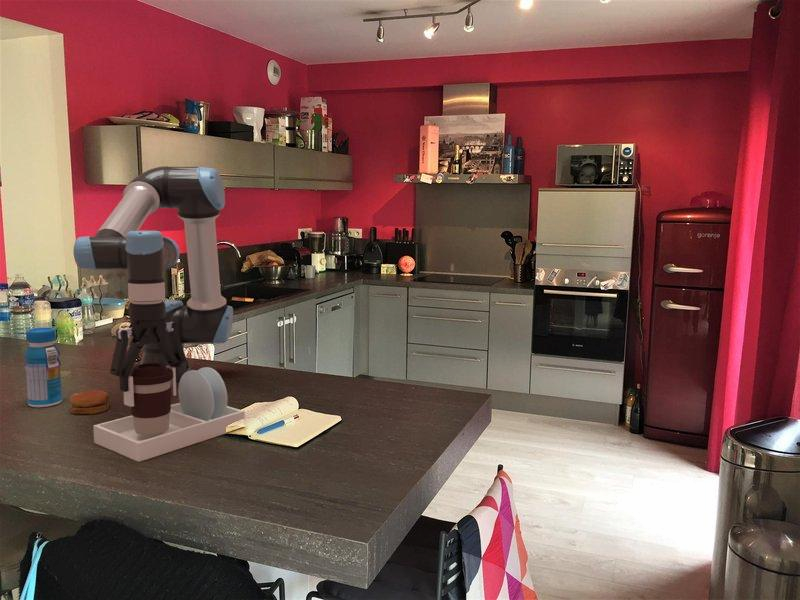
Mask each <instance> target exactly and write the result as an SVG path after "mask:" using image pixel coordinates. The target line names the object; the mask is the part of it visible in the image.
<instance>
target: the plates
mask: <svg viewBox="0 0 800 600" xmlns="http://www.w3.org/2000/svg"><path fill="white" fill-rule="evenodd" d="M177 388H178V389H177V392H178V393H177V394H178V401H179V403H180V405H181V408H182V410H183V412H184V414H186V415H189V416H192V417H195V418H198V419H201V420H204V421H208V420H209V419H211V420H213V419H216V418H219V417H222V416H223V414H224V413H225V411H226V407H227V406H228V390H227V387H226V383H225V381H224V380H223V378H222V376H221V374H220V373H219V372H218V371H217V370H216V369H214V368H213V367H210V366H205V367H201V368H199V369H198V370H197V369H190V371H187V372H185V373H184V374H183V375H182V377H181V379H180V380H179V382H178V387H177Z"/></svg>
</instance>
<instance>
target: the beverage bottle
mask: <svg viewBox="0 0 800 600" xmlns="http://www.w3.org/2000/svg"><path fill="white" fill-rule="evenodd" d="M56 335H57V334H56V329H55V328H54V327H47V326H46V327H35V328H28V329H27V330H26V332H25V336H26V337H25V339H26V343H27V344H29V345H28V346H27V347H26V350H25V352H24V355H23V356H24V359H25V363H24V370H25V381H26V383H25V384H26V395H27V396H26V397H27V400H26V402H27V405H28V406H29V407H32V408H46V407H47V408H48V407H52V406H57V405H58V404H61V403H62V401H63V391H62V373H61V372H62V371H61V370H62V369H61V366H62V363H61V360H60V355H61V354H60V350H59V348H58V347H57V345H56V344H55V343H54V342H56V338H57V337H56Z"/></svg>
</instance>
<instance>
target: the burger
mask: <svg viewBox="0 0 800 600" xmlns="http://www.w3.org/2000/svg"><path fill="white" fill-rule="evenodd" d="M110 396H111V395H110V394H109V393H107V392H106V391H104V390H99V389H93V390H85V391H79V392H75V393H73V394H71V396H70V397H69V402H70V404H71V408H70V410H69V412H70V414H73V415H74V414H75V415H76V414H77V415H95V414H98V413H103V412H106V411H108V410H109V409H110V405H109V400H110Z"/></svg>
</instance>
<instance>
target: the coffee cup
mask: <svg viewBox="0 0 800 600" xmlns="http://www.w3.org/2000/svg"><path fill="white" fill-rule="evenodd" d="M129 376H132V377H133V390H134V406H132V407H130V411H131V412H130V413H131V415H132V416H133V420H134V428H135V432H136V433H137V434H139V435H157V434H161V433H164V432H166V431H167V430H168V429H169V415H170V411H171V405H172V395H171V386H170V384H171V380H172V379H173V371H172V370H171V369H167V367H166V365H165V364H162V363H144V364H141V363H139V364H135V365H134V366H133V368H132V370H131V373H130V375H129Z"/></svg>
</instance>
